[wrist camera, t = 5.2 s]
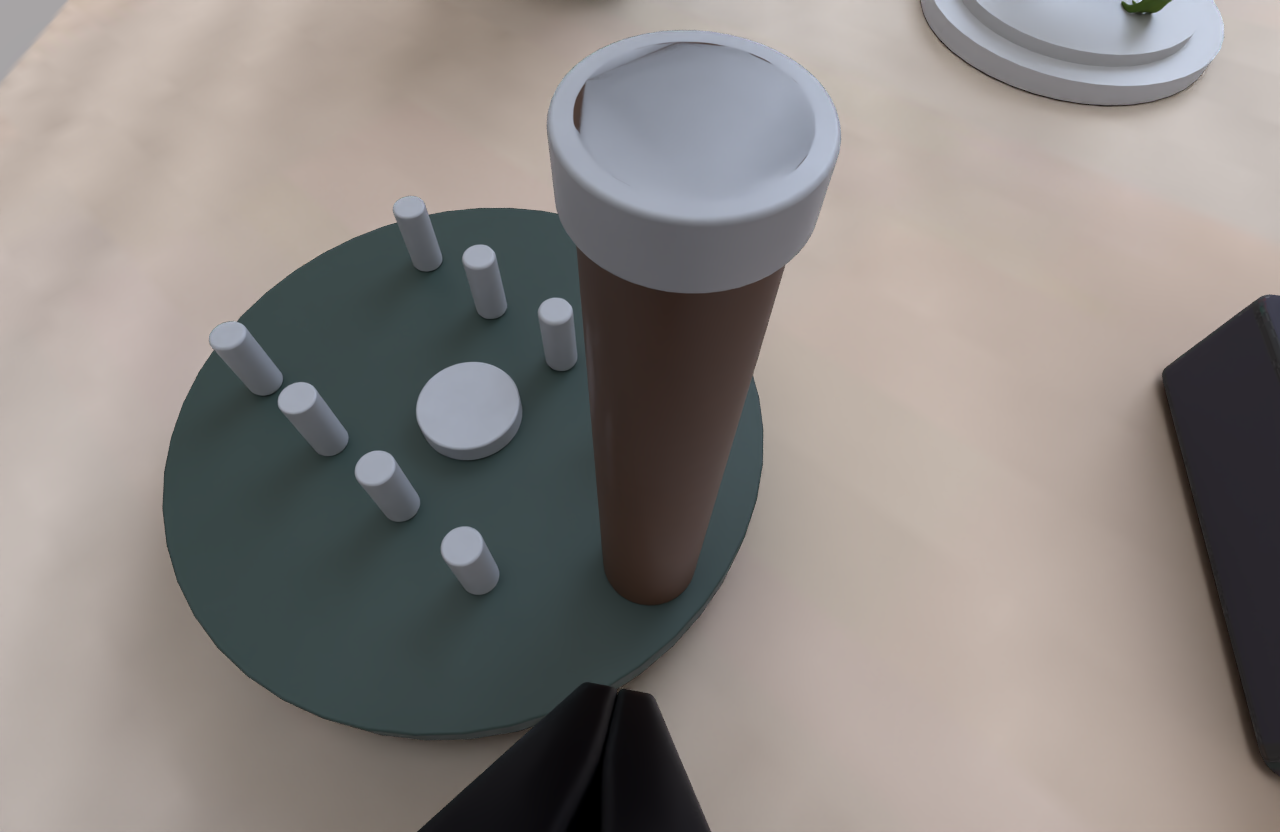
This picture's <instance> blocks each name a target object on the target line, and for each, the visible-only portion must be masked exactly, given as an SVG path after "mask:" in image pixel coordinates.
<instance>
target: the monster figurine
mask: <svg viewBox="0 0 1280 832" xmlns="http://www.w3.org/2000/svg"><path fill="white" fill-rule="evenodd" d="M921 4H922V9H923V13H924V15H925V17H926V19H927V21H928V23H929V26H930V27H931V28H932V30H933V31H934V32H935V34H936V35H937V36H938V38H939V39H940V40H941V41H942V42H943V43H944V44H945V45H946V46H947V47H948V48H949V49H950V50H952V51H953V52H954V53H955V54H957V55H958V56H959V57H961V58H962V59H963V60H965V61H966V62H967V63H969V64H970V65H972V66H974V67H975V68H977V69H979V70H981V71H982V72H984V73H986V74H987V75H989V76H992V77H994V78H996V79H998V80H1000V81H1003V82H1005V83H1007V84H1009V85H1012V86H1014V87H1017V88H1020V89H1023V90H1026V91H1029V92H1032V93H1035V94H1039V95H1042V96H1046V97H1050V98H1054V99H1058V100H1064V101H1070V102H1077V103H1083V104H1097V105H1130V104H1138V103H1144V102H1151V101H1155V100H1158V99H1162V98H1165V97H1168V96H1171V95H1173V94H1175V93H1177V92H1179V91H1181V90H1183V89H1186V88H1187V87H1188V86H1189V85H1191V84H1192V83H1193V82H1194V81H1196V80H1197V79H1198V78H1199V77H1200V75H1201V74H1202V73H1203V71H1204V70H1205V69H1206V68H1207V66H1208V65H1209V64H1210V62H1211V61H1212V60H1213V59H1214V57H1215V56H1216V54H1217V53H1218V52H1219V50H1220V49H1221V46H1222V42H1223V39H1224V23H1223V20H1222V17H1221V14H1220V11H1219V10H1218V8H1217V6H1216V5H1215V3H1214V1H1213V0H921Z"/></svg>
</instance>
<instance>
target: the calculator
mask: <svg viewBox="0 0 1280 832" xmlns="http://www.w3.org/2000/svg"><path fill="white" fill-rule="evenodd" d="M1162 378H1163V383H1164V387H1165V391H1166V395H1167V398H1168V402H1169V406H1170V410H1171V414H1172V418H1173V421H1174V425H1175V429H1176V433H1177V437H1178V441H1179V444H1180V448H1181V452H1182V456H1183V460H1184V463H1185V467H1186V471H1187V475H1188V479H1189V483H1190V486H1191V490H1192V494H1193V498H1194V502H1195V506H1196V509H1197V513H1198V517H1199V521H1200V525H1201V529H1202V532H1203V536H1204V540H1205V544H1206V548H1207V551H1208V555H1209V559H1210V563H1211V567H1212V571H1213V574H1214V578H1215V582H1216V586H1217V590H1218V594H1219V597H1220V601H1221V605H1222V609H1223V613H1224V617H1225V620H1226V624H1227V628H1228V632H1229V636H1230V639H1231V643H1232V647H1233V651H1234V655H1235V659H1236V662H1237V666H1238V670H1239V674H1240V678H1241V682H1242V685H1243V689H1244V693H1245V697H1246V701H1247V705H1248V708H1249V712H1250V716H1251V720H1252V724H1253V727H1254V731H1255V735H1256V739H1257V743H1258V746H1259V750H1260V753H1261V755H1262V758H1263V760H1264V762H1265V763H1266V765H1267V766H1268V767H1269V768H1270V769H1271V770H1272V771H1273V772H1274V773H1276V774H1277V775H1279V776H1280V296H1278V295H1264V296H1262V297H1260V298H1259V299H1257V300H1256V301H1254V302H1253V303H1252V304H1250V305H1249V306H1247V307H1246V308H1245V309H1243V310H1242V311H1241V312H1239V313H1238V314H1237V315H1235V316H1234V317H1232V318H1231V319H1230V320H1228V321H1227V322H1226V323H1224V324H1223V325H1222V326H1220V327H1219V328H1218V329H1216V330H1215V331H1214V332H1212V333H1211V334H1210V335H1208V336H1207V337H1206V338H1204V339H1203V340H1202V341H1200V342H1199V343H1198V344H1196V345H1195V346H1194V347H1192V348H1191V349H1190V350H1188V351H1187V352H1186V353H1184V354H1183V355H1182V356H1180V357H1179V358H1178V359H1176V360H1175V361H1174V362H1172V363H1171V364H1170V365H1169V366H1167V367H1166V368H1165V369H1164V370H1163V373H1162Z"/></svg>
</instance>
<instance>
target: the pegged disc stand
mask: <svg viewBox="0 0 1280 832" xmlns="http://www.w3.org/2000/svg"><path fill="white" fill-rule="evenodd" d="M547 135H548V143H549V152H550V161H551V170H552V179H553V187H554V196H555V203H556V209H557V212H558V214H556V213H550V212H545V211H538V210H527V209H516V208H476V209H466V210H455V211H446V212H441V213H436V214H430V215H428V212H427V209H426V206H425V203H424V202H423V201H422V200H421V199H420V198H418V197H415V196H406V197H403V198H401V199H399V200H398V201H396V203H395V204H394V206H393V213H394V216H395V218H396V221H397V223H394V224H390V225H387V226H384V227H381V228H378V229H376V230H373V231H371V232H368V233H366V234H363V235H360V236H358V237H355V238H353V239H351V240H349V241H347V242H345V243H343V244H341V245H339V246H337V247H335V248H333V249H331V250H329V251H327V252H325V253H323V254H321V255H319V256H318V257H316V258H315V259H313V260H311V261H310V262H308V263H307V264H305V265H303V266H302V267H300V268H299V269H297V270H295V271H294V272H292V273H291V274H290V275H289V276H287V277H286V278H285V279H283V280H282V281H281V282H279V283H278V284H277V285H276V286H274V287H273V288H272V289H270V290H269V291H268V292H266V293H265V294H264V295H263V296H262V297H261V298H260V299H259V300H258V301H257V302H256V303H255V304H254V305H253V306H252V307H251V308H250V309H249V310H247V311H246V312H245V313H244V314H243V315H242V316H241V317H240V318H239V320H238V321H237V322H234V321H229V322H224V323H222V324H220V325H218V326H216V327H215V328H214V329H213V330H212V332H211V333H210V336H209V343H210V345H211V347H212V348H213V349H214V351H213V352H212V354H211V355H210V357H209V358H208V360H207V361H206V363H205V364H204V365H203V367H202V368H201V370H200V371H199V373H198V375H197V377H196V379H195V381H194V383H193V385H192V387H191V389H190V391H189V393H188V395H187V397H186V399H185V401H184V403H183V405H182V408H181V411H180V414H179V417H178V419H177V422H176V425H175V428H174V431H173V434H172V437H171V441H170V446H169V451H168V456H167V461H166V466H165V471H164V489H163V516H164V525H165V534H166V543H167V547H168V551H169V554H170V558H171V561H172V565H173V568H174V572H175V575H176V578H177V582H178V584H179V586H180V588H181V590H182V592H183V594H184V596H185V598H186V600H187V602H188V604H189V606H190V608H191V610H192V612H193V614H194V616H195V618H196V619H197V620H198V622H199V623H200V624H201V626H202V627H203V629H204V630H205V631H206V633H207V634H208V635H209V637H210V638H211V639H212V641H213V642H214V644H215V645H216V646H217V648H218V649H219V650H220V651H221V652H223V653H224V654H225V655H226V656H227V657H228V658H229V659H230V660H231V661H232V662H233V663H234V664H235V665H236V666H237V667H238V668H239V669H240V670H241V671H242V672H243V673H244V674H245V675H247V676H248V677H249V678H251V679H252V680H254V681H255V682H257V683H258V684H260V685H261V686H263V687H264V688H266V689H267V690H269V691H270V692H272V693H273V694H274V695H276V696H277V697H279V698H280V699H282V700H284V701H286V702H288V703H290V704H293V705H295V706H297V707H299V708H301V709H304V710H306V711H308V712H310V713H312V714H315V715H317V716H319V717H321V718H323V719H327V720H330V721H333V722H337V723H340V724H344V725H347V726H351V727H354V728H358V729H362V730H365V731H369V732H372V733H376V734H380V735H386V736H394V737H402V738H411V739H419V740H457V739H475V738H481V737H487V736H493V735H499V734H505V733H511V732H517V731H520V730H523V729H527V728H530V727H533V726H535V725H536V724H537V723H538V722H540V721H541V720H542V719H543V718H544V717H545V716H546V715H547V714H548V713H550V712H551V711H552V710H553V709H554V708H555V707H556V706H557V705H558V704H560V703H561V702H562V701H563V700H564V699H565V698H566V697H567V696H568V695H570V694H571V693H572V692H573V691H574V690H575V689H576V688H577V687H578V686H580V685H581V684H582V683H584V682H591V683H596V684H601V685H606V686H612V687H614V688H615V689H618V688H619V687H621V686H622V685H624V684H626V683H627V682H629V681H630V680H632V679H633V678H635V677H636V676H638V675H640V674H641V673H642V672H643V671H644V670H646V669H647V668H648V667H649V666H650V665H651V664H653V663H654V662H655V661H656V660H657V659H658V658H660V657H661V656H662V655H663V654H664V653H666V652H667V651H668V650H669V649H670V648H671V647H673V646H674V644H675V643H676V642H677V641H678V640H679V639H680V638H681V637H682V635H683V634H684V633H685V632H686V631H687V630H688V629H689V628H690V627H691V625H692V624H693V623H694V622H695V621H696V620H697V619H698V618H699V617H700V615H701V614H702V612H703V611H704V610H705V608H706V607H707V605H708V604H709V602H710V601H711V599H712V598H713V596H714V595H715V593H716V592H717V590H718V589H719V587H720V586H721V584H722V583H723V581H724V579H725V577H726V575H727V573H728V571H729V569H730V567H731V565H732V563H733V561H734V559H735V556H736V554H737V552H738V550H739V548H740V546H741V544H742V541H743V539H744V537H745V534H746V531H747V528H748V525H749V522H750V519H751V516H752V513H753V510H754V507H755V503H756V500H757V495H758V489H759V483H760V477H761V471H762V465H763V424H762V416H761V409H760V401H759V396H758V392H757V389H756V385H755V382H754V378H753V372H754V369H755V366H756V362H757V359H758V356H759V352H760V349H761V345H762V342H763V339H764V335H765V332H766V328H767V325H768V322H769V318H770V315H771V312H772V308H773V305H774V301H775V298H776V295H777V291H778V288H779V284H780V281H781V278H782V274H783V271H784V268H785V265H786V264H787V263H788V262H789V261H790V260H791V259H792V258H793V257H795V256H796V255H797V254H798V253H799V251H800V250H801V249H802V248H803V247H804V245H805V244H806V243H807V241H808V239H809V238H810V236H811V234H812V232H813V230H814V227H815V225H816V222H817V219H818V216H819V213H820V210H821V207H822V204H823V201H824V197H825V194H826V191H827V188H828V185H829V182H830V179H831V176H832V173H833V170H834V167H835V164H836V161H837V158H838V155H839V151H840V144H841V130H840V122H839V118H838V114H837V110H836V108H835V106H834V104H833V102H832V99H831V97H830V96H829V94H828V93H827V91H826V90H825V88H824V87H823V86H822V85H821V84H820V82H819V81H818V80H817V79H816V78H815V77H814V76H813V75H812V74H811V73H810V72H808V71H807V70H806V69H805V68H804V67H803V66H801V65H800V64H798V63H797V62H795V61H794V60H792V59H791V58H789V57H788V56H786V55H784V54H782V53H780V52H778V51H777V50H774V49H772V48H770V47H767V46H765V45H763V44H760V43H757V42H754V41H751V40H748V39H745V38H741V37H737V36H733V35H729V34H723V33H717V32H709V31H697V30H673V31H660V32H654V33H647V34H642V35H638V36H634V37H630V38H626V39H623V40H620V41H617V42H615V43H612V44H610V45H608V46H605V47H603V48H601V49H599V50H597V51H595V52H594V53H592V54H590V55H589V56H587V57H586V58H584V59H583V60H582V61H580V62H579V63H578V64H577V65H575V66H574V67H573V68H572V69H571V70H570V71H569V72H568V73H567V74H566V75H565V77H564V78H563V80H562V81H561V82H560V84H559V85H558V87H557V89H556V91H555V93H554V95H553V97H552V100H551V103H550V106H549V110H548V114H547Z"/></svg>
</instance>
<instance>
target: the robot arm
mask: <svg viewBox="0 0 1280 832" xmlns="http://www.w3.org/2000/svg"><path fill="white" fill-rule="evenodd" d="M417 832H711V831H710V828H709V826H708V824H707V821H706V819H705V816H704V814H703V812H702V809H701V807H700V805H699V802H698V800H697V797H696V795H695V793H694V790H693V788H692V786H691V783H690V781H689V778H688V776H687V774H686V771H685V769H684V767H683V764H682V762H681V759H680V757H679V755H678V752H677V750H676V748H675V745H674V743H673V740H672V738H671V736H670V733H669V731H668V728H667V726H666V724H665V721H664V719H663V717H662V714H661V712H660V709H659V707H658V705H657V702H656V700H655V698H654V697H653V696H652V695H651V694H648V693H643V692H638V691H633V690H627V689H622V690H620V691H619V692H618V695H617V690H616V689H615V688H614V687H612V686H606V685H601V684H596V683H591V682H584V683H582V684H581V685H580V686H578V687H577V688H576V689H575V690H574V691H573V692H572V693H571V694H570V695H568V696H567V697H566V698H565V699H564V700H563V701H562V702H561V703H560V704H558V705H557V706H556V707H555V708H554V709H553V710H552V711H551V712H550V713H548V714H547V715H546V716H545V717H544V718H543V719H542V720H541V721H540V722H538V723H537V724H536V725H535V726H534V727H533V728H532V729H531V730H530V731H528V732H527V733H526V734H525V735H524V736H523V737H522V738H521V739H520V740H518V741H517V742H516V743H515V744H514V745H513V746H512V747H511V748H510V749H508V750H507V751H506V752H505V753H504V754H503V755H502V756H501V757H500V758H498V759H497V760H496V761H495V762H494V763H493V764H492V765H491V766H490V767H488V768H487V769H486V770H485V771H484V772H483V773H482V774H481V775H480V776H478V777H477V778H476V779H475V780H474V781H473V782H472V783H471V784H470V785H468V786H467V787H466V788H465V789H464V790H463V791H462V792H461V793H460V794H458V795H457V796H456V797H455V798H454V799H453V800H452V801H451V802H450V803H448V804H447V805H446V806H445V807H444V808H443V809H442V810H441V811H440V812H438V813H437V814H436V815H435V816H434V817H433V818H432V819H431V820H430V821H428V822H427V823H426V824H425V825H424V826H423V827H422V828H421V829H420V830H418V831H417Z"/></svg>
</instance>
